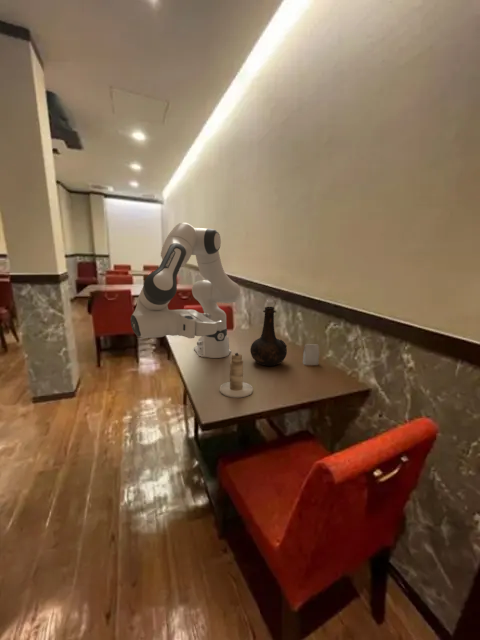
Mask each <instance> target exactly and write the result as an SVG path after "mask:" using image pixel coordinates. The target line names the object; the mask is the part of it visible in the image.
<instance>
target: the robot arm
mask: <svg viewBox="0 0 480 640" xmlns="http://www.w3.org/2000/svg"><path fill="white" fill-rule="evenodd" d="M221 243H222V241H221V235H220V232H218V231H217V229H214V228H205V227H203V228H202V227H194V226H193V225H191V224H189V223H188V222H180V223H178V224H176V225H175V226H174V227H173V228H172V230H171V231H170V233H169V234H168V235H167V236H166V238H165V240H164V242H163V244H162V248H161V252H160V258H161V259H162V260H161V262H160V264H159V266H158V268H156V269H155V270H154V271H152V272H151V273H149V274H148V275H147V276H146V277H145V280H144V282H143V286H142V288H141V289H140V293H139V295H138V297H137V300H136V301H137V303H136V306H135V309H134V311H133V313H132V314H131V315H130V326H131V329H132V331H133V333H134V334H135V335H136V336H137V337H140V338H146V339H149V338H150V339H151V338H153V339H154V338H163V337H165V336H170V337H171V336H172V337H173V336H174V337H176V336H179V337H184V338H187V339H194V338H196V337H199V338H198V340H197V341H196V345H195V346H194V347H193V350H194V349H195V350H194V352H195V353H196V352H197V353H196V354H197V356H198V355H199V356H201V357H202V358H209V359H210V358H211V359H218V358H225V357H228V356H229V355H230V353H231V352H232V350H231V349H230V340H229V337H228V336H227V335H228V328H227V313H226V312H225V310H223V309H221V308H220V306H219V305H218V303H225V304H230V303H236V302H237V301H238V300H239V299H240V297H241V288H240V285H239V284H238V283H236V282H235V281H234V280H232V279H231V278H230V277H229V276H228V274H226V272H225V271H224V268H223V264H222V261H221V256H220V251H219V250H220V248H221ZM192 256H195V260H196V262H197V268H198V271H199V274H200V275H201V277H202V278H203V279H204V280H203V279H202V280H197V281H195V282H194V283H193V285H192V287H191V293H192V296H193V298H194V299H195V300H196V302H197V301H198V303H199V304H200V306H201V307H202V311H203V313H202V312H199V311H197V310H195V309H184V308H183V309H182V308H181V309H169V306H168V305H169V303H170V302H171V300H173V298H174V297H175V295H176V294H177V290H178V285H177V284H178V282H177V278H178V277H177V276H178V274H179V271H180V269H181V268H184V267H185V265H186V264H187V263H188V262H189V260H190V259H191V257H192ZM195 336H196V337H195ZM199 356H198V357H199ZM201 357H200V358H201Z"/></svg>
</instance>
